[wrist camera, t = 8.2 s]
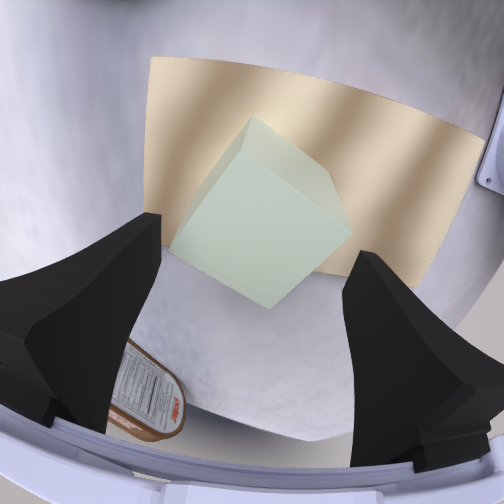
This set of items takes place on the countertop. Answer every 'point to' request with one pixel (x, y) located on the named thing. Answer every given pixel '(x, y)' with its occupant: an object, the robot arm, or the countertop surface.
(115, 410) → the tin
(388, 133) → the board
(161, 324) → the countertop surface
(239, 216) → the pale green block
